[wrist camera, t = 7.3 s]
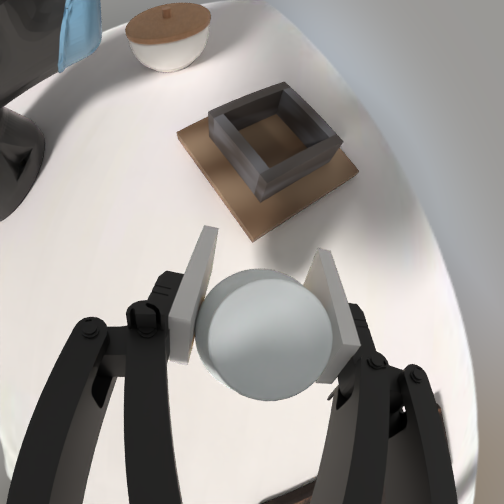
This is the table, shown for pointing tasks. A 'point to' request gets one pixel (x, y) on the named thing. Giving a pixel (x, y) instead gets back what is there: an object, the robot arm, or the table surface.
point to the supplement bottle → (263, 335)
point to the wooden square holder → (267, 156)
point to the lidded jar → (169, 35)
